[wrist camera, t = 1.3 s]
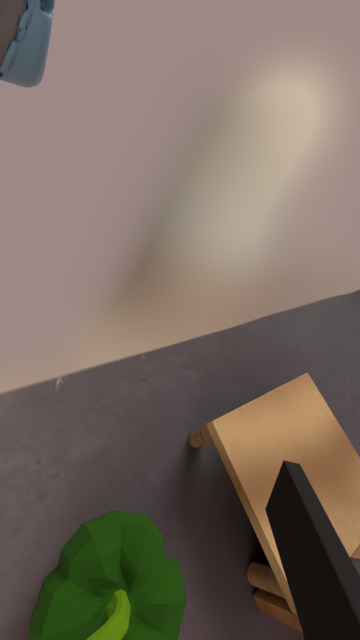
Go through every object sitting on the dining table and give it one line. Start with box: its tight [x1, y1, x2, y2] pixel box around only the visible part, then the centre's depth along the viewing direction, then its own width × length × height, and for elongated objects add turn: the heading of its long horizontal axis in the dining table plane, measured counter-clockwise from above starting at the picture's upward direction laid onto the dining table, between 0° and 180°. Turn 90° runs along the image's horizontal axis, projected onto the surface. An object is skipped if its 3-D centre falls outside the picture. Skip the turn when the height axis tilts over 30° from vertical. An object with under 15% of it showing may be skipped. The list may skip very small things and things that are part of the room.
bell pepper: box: [29, 511, 186, 640], centre depth 17 cm, size 8×8×10 cm
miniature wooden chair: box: [189, 373, 360, 633], centre depth 25 cm, size 15×14×12 cm
